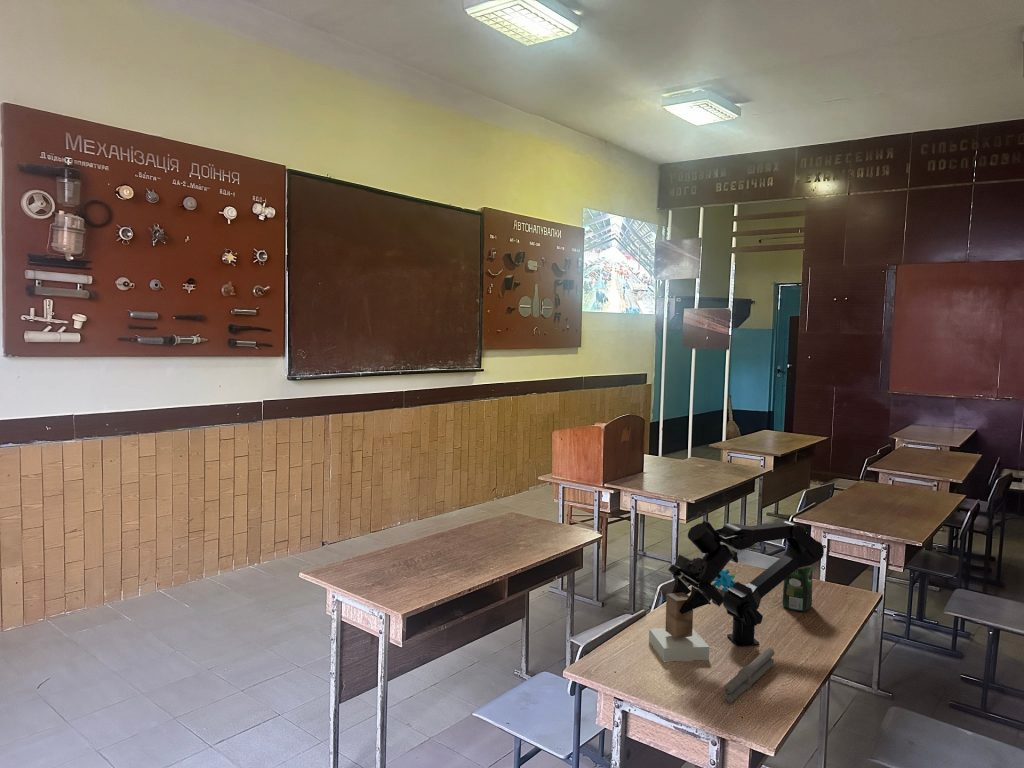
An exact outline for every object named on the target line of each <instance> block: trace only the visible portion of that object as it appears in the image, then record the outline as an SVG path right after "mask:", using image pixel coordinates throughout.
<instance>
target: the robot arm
mask: <svg viewBox="0 0 1024 768" xmlns="http://www.w3.org/2000/svg"><path fill="white" fill-rule="evenodd" d="M687 539H688V540H689V541H690V542H691V543H692V544H693V545H694V546H695V547H696V549H698V550H699V551H700V552H701V553H702V554H704V556H702V557H695V558H694V557H693V559H692V558H689V557H687V556H685V555H682V554H680V553H679V554H678V556H677V558H676V560H675V562H674V563H675V564H672V565H670V567H669V568H668V569H667V570H668V572H670V574H671V575H672V578H673V579H674V584H673V585H674V586H673V590H672V592H671V593H680V592H684V593H685V594H687V595H688V596H689V597H688V599H687V600H686V602H685V603H684V604H683V606H682V607H681V609H680V611H679V612H680V613H681V614H684V613H686V612H688V611H691V610H693V611H694V610H695V609H698V608H701V607H703V606H707V605H711V604H714V605H715V606H717V607H718V608H719V607H720V608H721V605H722V604H723V608H724V609H725V610H726V614H728V615H729V616H731V617H732V630H731V631H732V633H728V634H727V635H726V636H727V637H728V639H729V640H731V641H732V643H734V645H736V646H738V647H744V646H746V647H747V646H748V647H749V646H760V642H759V641H758V640H756V638H755V629H756V626H757V625H761V624H762V621H763V618H764V616H763V615H762V614H761V613H760V612H759V611H758V609H759V608H760V605H761V601H762V598H764V597H765V596H766V595H767V594H769V593H771V591H772V590H773V589H775V588H776V587H777V586H778V585H780V584H781V583H782V582H784V580H785V579H786V578H787V577H788V576H790V575H791V574H792V573H793V572H795V571H796V570H797V569H798V568H801V567H805V566H810V565H812V564H813V565H814V564H816V563H818V562H819V561H821V559H823V557H824V553H825V551H824V550H825V549H824V544H823V543H822V542H820V541H818V540H816V539H815V538H814V537H813V536H812V535H810V534H809V533H808V532H806V531H805V530H804V528H802V526H800V525H799V524H798V523H795V522H792V521H790V520H785V521H781V522H774V523H765V524H757V525H745V524H739V523H733V522H732V523H730V522H729V523H726V524H724V525H723V526H721V527H719V528H714V526H712V524H711V523H710V522H709V521H707V520H703V521H702V522H700V523H697V524H695V525H694V526H692V527H690V529H689V530H688V532H687ZM778 540H786V542H787V543H788V544H787V548H786V550H787V551H786V550H785V551H786V554H785V555H784V554H783V556H781V557H780V558H779V559H777V560H776V561H775V562H773V563H772V564H771V565H770V566H768V567H766V568H765V570H763V571H762V572H761V573H760V574H758V576H756V577H755V578H753V579H752V580H751V581H749V582H748V583H745V584H744V583H742V582H740V581H737V582H736V581H735V582H736V583H735V584H734V585H733V586H732V587H731V588H727V590H728V591H725V592H724V594H722V593H721V592H720V591H719V590H718V589H717V588H716V586H715V587H714V586H713V585H712V584H713V583H714V581H713V580H714V579H715V578H718V579H720V578H721V575H720V574H719V573H720V572H721V571H722V569H723V568H724V569H725V567H726V566H727V565H728V564H729V562H730V561H731V562H733V563H735V564H738V563H739V559H738V552H737V551H738V550H739V551H743V550H746V549H749V548H752V547H753V546H754V545H755V544H758V543H763V542H770V541H771V542H772V541H778ZM730 547H731V548H733V549H735V550H737V551H735V550H732V549H730ZM724 569H723V570H724ZM689 586H691V589H690V588H689ZM710 601H711V602H712V603H711V602H710Z"/></svg>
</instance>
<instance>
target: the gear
mask: <svg viewBox="0 0 1024 768" xmlns="http://www.w3.org/2000/svg"><path fill="white" fill-rule="evenodd" d="M724 569H725V567H724V568H723V569H722V571H721V572H720V573H719V574H720V575H721V578H720V579H718V578H715V579H714V580H713V583H711V585H713V586H714V587H715V588H716V587H718V588H720V587H722V586H723V587H722V588H721V590H722V591H723V592H724V593H726V592H727V591H728V590H727V589H728V588H731V587H732V586H733V585H734V584H735V583H736V581H734V579H735V577H736V574H735V573H733V574H731V575H729V574H730V573H731V572H730V570H729V568H728V569H726V570H724Z"/></svg>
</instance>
